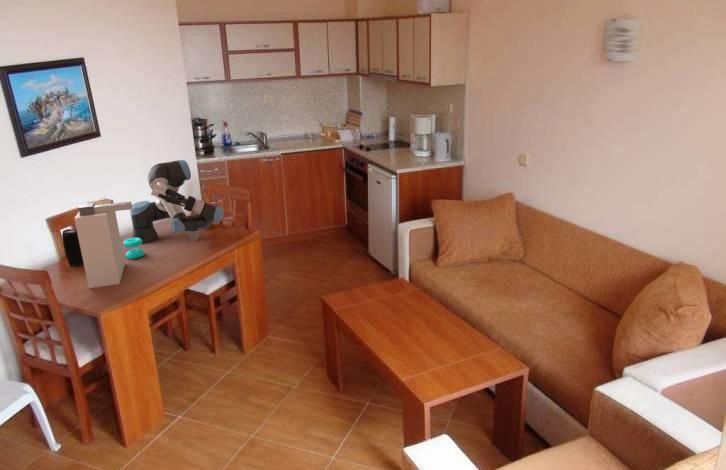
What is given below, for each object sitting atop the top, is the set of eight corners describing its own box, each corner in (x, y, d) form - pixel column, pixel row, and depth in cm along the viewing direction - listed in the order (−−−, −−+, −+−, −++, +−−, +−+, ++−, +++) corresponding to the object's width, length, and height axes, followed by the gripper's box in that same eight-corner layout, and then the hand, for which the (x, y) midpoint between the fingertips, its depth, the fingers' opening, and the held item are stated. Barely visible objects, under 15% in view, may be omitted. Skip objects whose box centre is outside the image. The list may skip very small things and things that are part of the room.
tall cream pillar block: (125, 263, 307) (112, 198, 296) (119, 284, 280) (105, 213, 268) (97, 267, 304) (84, 201, 292) (88, 288, 276) (73, 216, 265)
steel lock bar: (132, 206, 282) (131, 198, 281) (131, 210, 275) (129, 202, 274) (82, 211, 276) (81, 203, 275) (80, 215, 269) (78, 207, 267)
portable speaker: (88, 261, 314) (82, 227, 307) (79, 267, 305) (72, 233, 299) (74, 261, 314) (67, 227, 308) (64, 267, 305) (57, 233, 299)
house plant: (213, 237, 345) (210, 212, 340) (196, 244, 334) (192, 218, 329) (197, 234, 352) (193, 209, 347) (179, 240, 341) (176, 215, 336)
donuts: (129, 236, 320) (145, 237, 318) (132, 253, 324) (148, 253, 322) (119, 242, 311) (135, 243, 309) (122, 259, 314) (138, 259, 312)
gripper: (196, 193, 298) (156, 177, 290) (197, 204, 275) (154, 187, 267) (190, 205, 299) (150, 190, 291) (191, 218, 276) (148, 201, 268)
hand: (152, 188), depth 279 cm, fingers open, 13 cm apart
